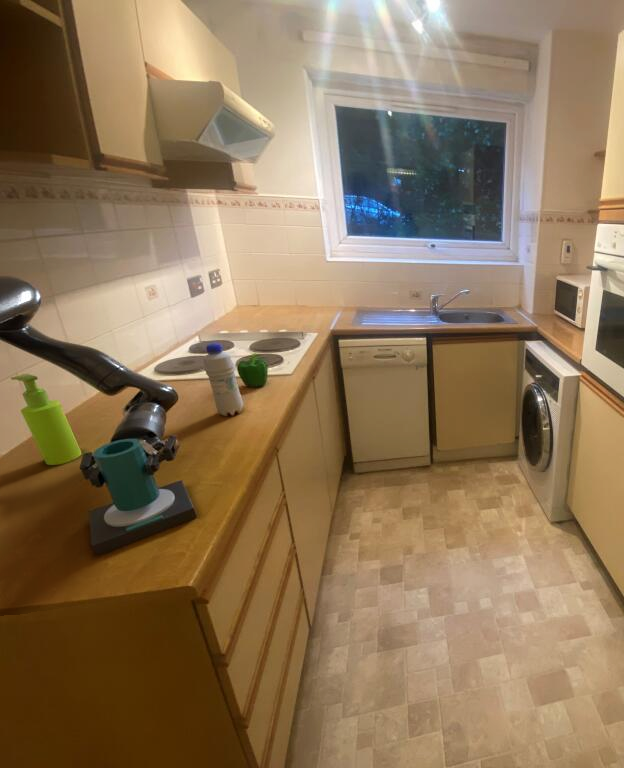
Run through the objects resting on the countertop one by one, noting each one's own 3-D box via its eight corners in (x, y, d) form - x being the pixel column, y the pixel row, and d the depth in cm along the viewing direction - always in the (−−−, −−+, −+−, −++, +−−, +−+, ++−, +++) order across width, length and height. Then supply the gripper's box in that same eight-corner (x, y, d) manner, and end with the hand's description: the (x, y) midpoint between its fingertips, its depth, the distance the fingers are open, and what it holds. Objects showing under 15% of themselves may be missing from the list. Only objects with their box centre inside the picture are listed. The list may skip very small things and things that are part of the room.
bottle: (211, 417, 118) (191, 347, 110) (229, 406, 124) (211, 339, 116) (234, 418, 117) (215, 348, 109) (251, 408, 123) (234, 340, 115)
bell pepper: (249, 392, 133) (241, 361, 130) (237, 385, 138) (229, 356, 134) (276, 383, 140) (270, 354, 136) (264, 378, 144) (257, 349, 140)
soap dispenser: (68, 448, 102) (32, 369, 95) (87, 453, 100) (53, 373, 93) (36, 461, 97) (-4, 379, 89) (56, 467, 95) (17, 383, 87)
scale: (96, 556, 71) (90, 543, 70) (92, 520, 79) (87, 508, 78) (197, 517, 80) (192, 505, 79) (184, 488, 88) (180, 477, 87)
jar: (117, 516, 74) (94, 462, 70) (114, 499, 78) (92, 447, 74) (162, 500, 78) (142, 448, 74) (157, 485, 82) (138, 434, 78)
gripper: (188, 441, 92) (181, 482, 79) (99, 460, 85) (75, 508, 72) (178, 410, 89) (168, 447, 76) (85, 426, 82) (57, 470, 69)
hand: (123, 476), depth 74 cm, fingers closed on jar, 6 cm apart
